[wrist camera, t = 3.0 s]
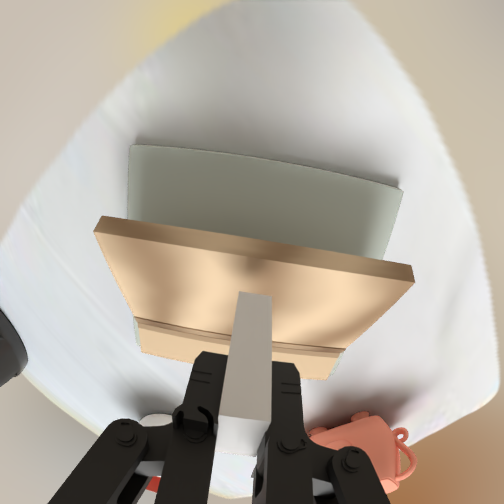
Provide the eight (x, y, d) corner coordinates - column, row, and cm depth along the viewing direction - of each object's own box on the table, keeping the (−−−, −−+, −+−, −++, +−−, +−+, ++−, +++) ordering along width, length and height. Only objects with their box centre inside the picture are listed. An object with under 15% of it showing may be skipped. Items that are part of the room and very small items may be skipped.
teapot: (317, 398, 31) (326, 494, 19) (420, 404, 32) (445, 477, 20) (276, 449, 37) (274, 521, 26) (367, 453, 38) (377, 514, 27)
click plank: (141, 309, 25) (137, 322, 24) (101, 215, 15) (92, 232, 14) (340, 340, 25) (340, 353, 24) (411, 265, 15) (415, 284, 15)
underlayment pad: (139, 339, 28) (132, 354, 26) (135, 144, 20) (121, 147, 18) (331, 368, 28) (334, 384, 26) (398, 188, 20) (411, 196, 18)
